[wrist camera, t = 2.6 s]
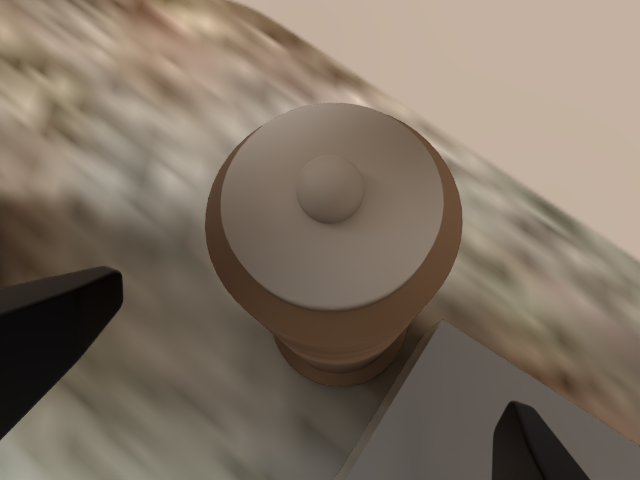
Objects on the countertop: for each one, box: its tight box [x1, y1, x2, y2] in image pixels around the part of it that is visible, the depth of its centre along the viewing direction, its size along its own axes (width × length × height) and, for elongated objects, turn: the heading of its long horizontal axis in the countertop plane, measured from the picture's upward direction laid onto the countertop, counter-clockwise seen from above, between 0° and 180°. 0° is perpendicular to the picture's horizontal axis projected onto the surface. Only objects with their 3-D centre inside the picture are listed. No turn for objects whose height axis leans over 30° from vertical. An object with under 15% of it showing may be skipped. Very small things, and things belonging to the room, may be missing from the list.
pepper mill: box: [205, 103, 462, 387], centre depth 13 cm, size 6×6×13 cm
